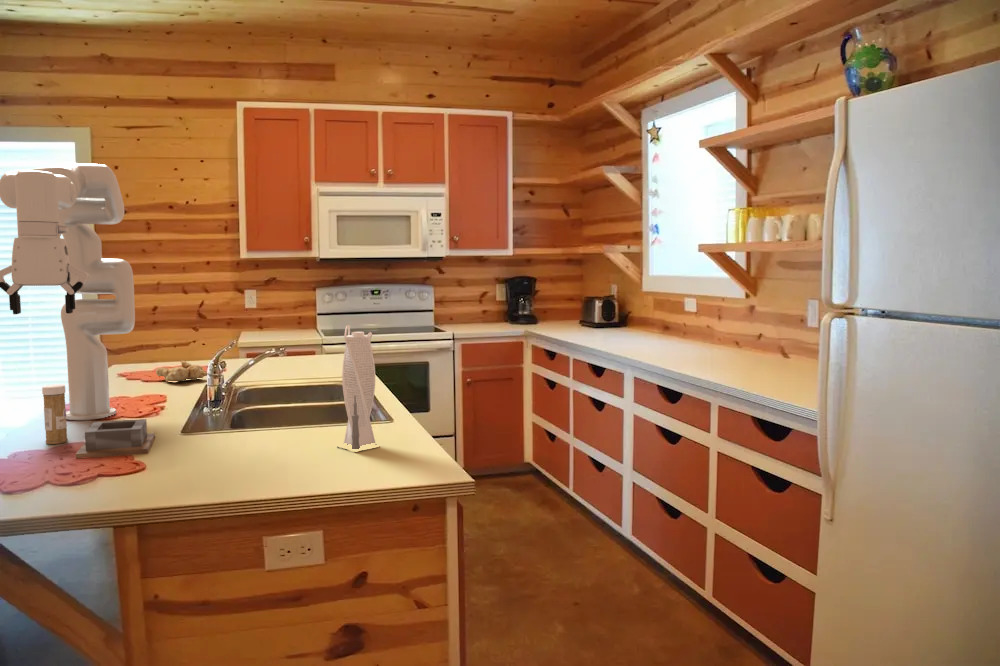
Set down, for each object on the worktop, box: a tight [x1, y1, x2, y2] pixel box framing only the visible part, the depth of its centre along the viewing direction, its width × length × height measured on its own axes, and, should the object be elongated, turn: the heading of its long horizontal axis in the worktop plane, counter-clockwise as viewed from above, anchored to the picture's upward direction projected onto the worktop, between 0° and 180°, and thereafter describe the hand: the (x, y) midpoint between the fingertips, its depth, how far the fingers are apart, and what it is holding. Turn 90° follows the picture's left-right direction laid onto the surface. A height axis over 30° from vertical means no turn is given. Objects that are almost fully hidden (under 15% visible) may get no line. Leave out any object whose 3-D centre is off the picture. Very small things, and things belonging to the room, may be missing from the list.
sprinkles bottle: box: [41, 383, 69, 445], centre depth 173 cm, size 5×5×13 cm
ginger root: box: [155, 359, 208, 382], centre depth 259 cm, size 16×16×8 cm
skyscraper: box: [341, 323, 376, 449], centre depth 170 cm, size 8×8×28 cm
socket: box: [75, 418, 156, 459], centre depth 170 cm, size 16×14×6 cm
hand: (43, 313), depth 157 cm, fingers open, 9 cm apart
